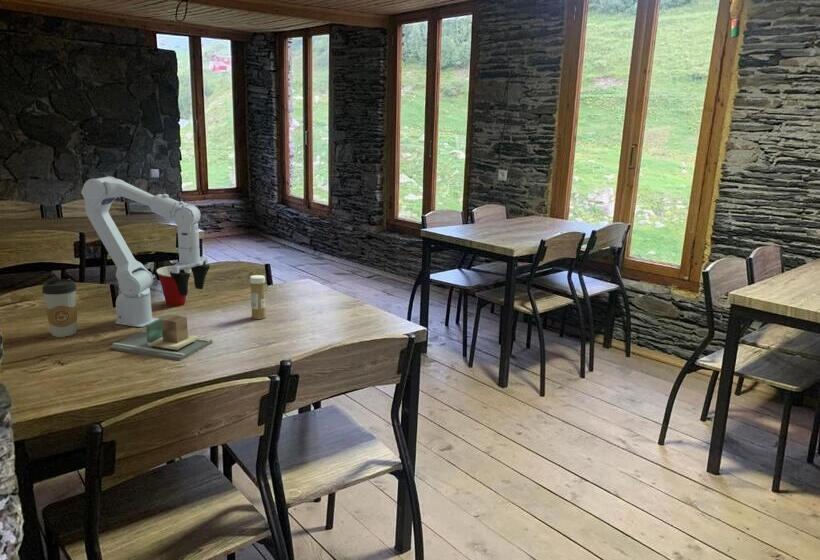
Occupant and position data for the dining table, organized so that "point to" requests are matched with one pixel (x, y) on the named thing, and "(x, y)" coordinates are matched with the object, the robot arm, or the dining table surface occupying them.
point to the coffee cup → (61, 306)
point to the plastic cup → (171, 287)
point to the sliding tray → (157, 339)
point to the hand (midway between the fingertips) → (191, 291)
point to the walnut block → (174, 329)
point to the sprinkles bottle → (258, 296)
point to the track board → (141, 347)
